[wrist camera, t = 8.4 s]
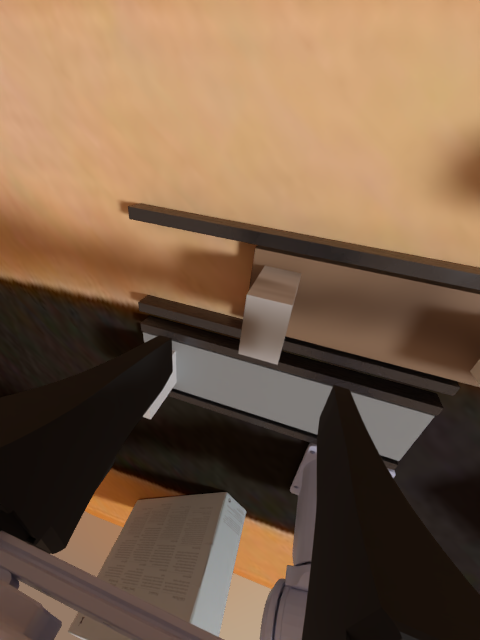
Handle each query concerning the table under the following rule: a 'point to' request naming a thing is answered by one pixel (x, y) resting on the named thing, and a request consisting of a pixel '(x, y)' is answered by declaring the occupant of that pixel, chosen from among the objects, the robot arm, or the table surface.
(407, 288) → the strip
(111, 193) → the table surface
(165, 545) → the skincare box
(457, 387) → the lane rails
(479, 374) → the cube
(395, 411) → the strip
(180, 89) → the table surface
